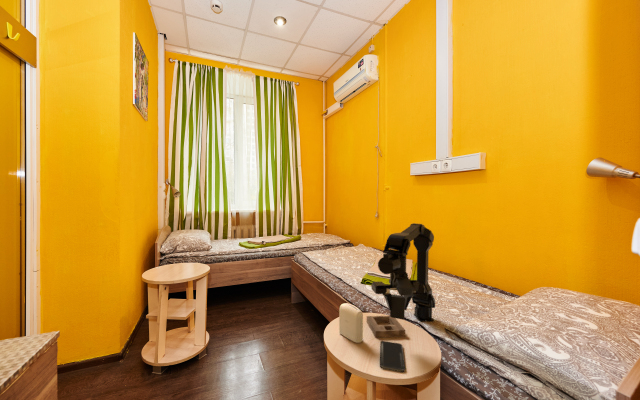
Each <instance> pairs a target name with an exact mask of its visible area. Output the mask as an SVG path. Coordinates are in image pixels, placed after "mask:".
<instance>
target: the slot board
mask: <svg viewBox="0 0 640 400" xmlns="http://www.w3.org/2000/svg"><path fill="white" fill-rule="evenodd" d="M365 320H366V324H367V325H368V327H369V328H370V331H371V333H372V335H373V336H374V338H376V339H378V338H401V337H406V329H405V328H404V326H402V324H401V323H400V322H399V321H398V319H397V318H392V317H391V316H390V315H368V316H366V319H365ZM378 322H385V323H388V322H389V323H388V324H379V323H378Z"/></svg>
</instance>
